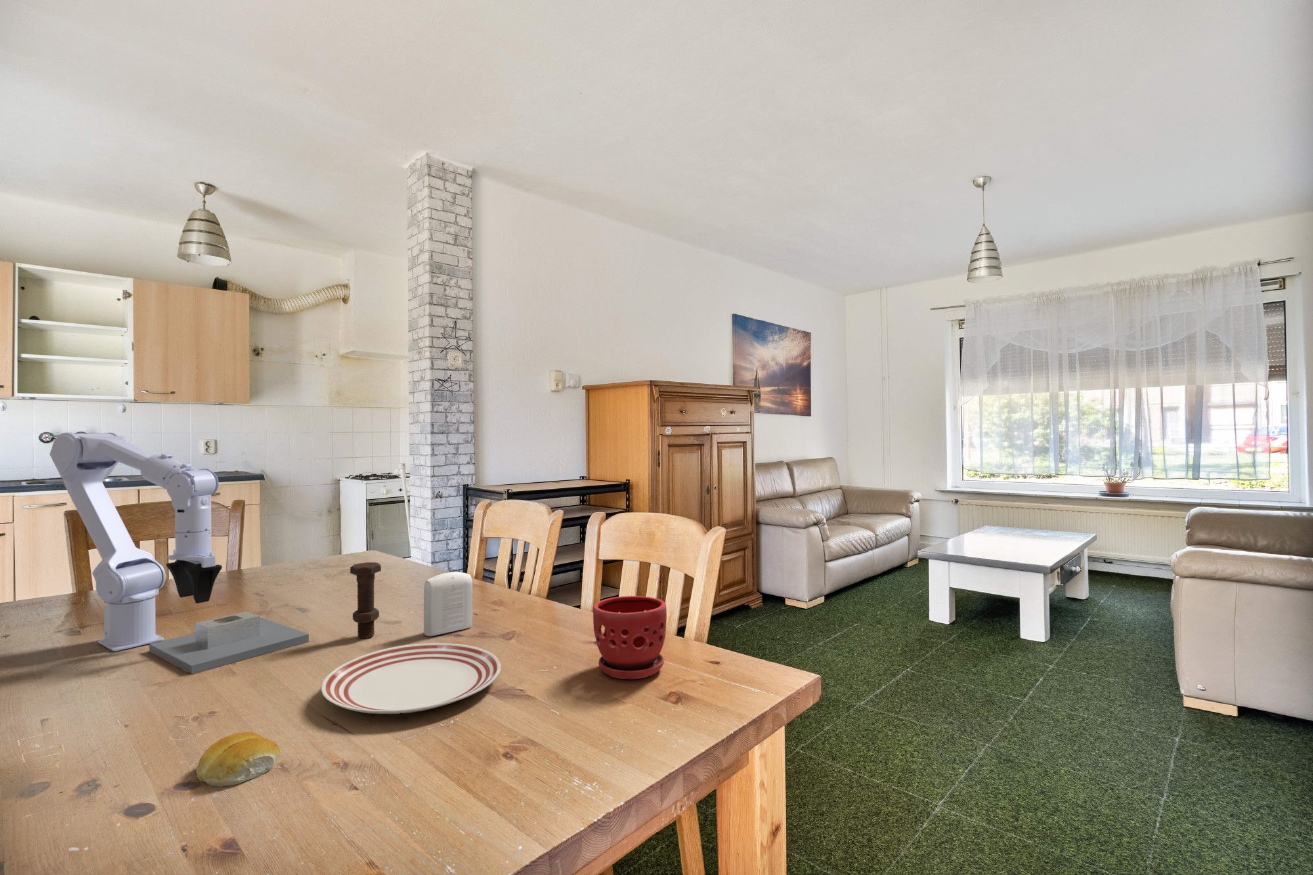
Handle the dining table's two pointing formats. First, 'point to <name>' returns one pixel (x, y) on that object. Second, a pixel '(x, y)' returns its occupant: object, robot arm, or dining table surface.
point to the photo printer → (447, 603)
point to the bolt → (365, 598)
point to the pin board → (226, 648)
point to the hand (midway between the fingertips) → (194, 599)
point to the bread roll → (237, 759)
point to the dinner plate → (410, 678)
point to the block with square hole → (227, 629)
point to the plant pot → (630, 635)
